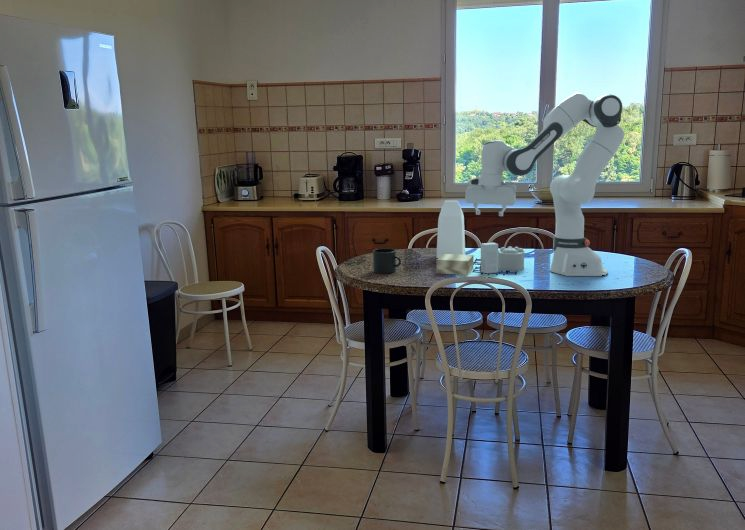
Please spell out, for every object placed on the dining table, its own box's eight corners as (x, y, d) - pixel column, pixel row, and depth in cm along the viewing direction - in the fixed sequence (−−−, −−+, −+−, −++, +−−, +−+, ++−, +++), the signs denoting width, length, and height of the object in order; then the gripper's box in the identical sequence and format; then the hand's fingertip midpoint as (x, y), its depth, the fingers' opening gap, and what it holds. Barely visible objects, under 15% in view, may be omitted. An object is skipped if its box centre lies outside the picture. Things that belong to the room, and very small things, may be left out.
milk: (436, 258, 298) (436, 201, 293) (439, 254, 309) (440, 199, 304) (462, 259, 295) (463, 202, 290) (465, 254, 306) (466, 199, 301)
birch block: (473, 268, 276) (473, 255, 275) (468, 275, 264) (468, 261, 263) (443, 267, 280) (443, 253, 279) (436, 273, 268) (436, 259, 267)
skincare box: (493, 270, 271) (493, 242, 269) (498, 272, 267) (498, 243, 265) (479, 271, 269) (480, 243, 267) (484, 273, 265) (485, 244, 263)
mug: (396, 275, 266) (396, 253, 264) (369, 273, 270) (369, 251, 268) (404, 270, 274) (404, 249, 272) (378, 268, 279) (378, 247, 277)
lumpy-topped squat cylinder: (495, 269, 273) (496, 249, 271) (502, 263, 285) (502, 244, 283) (520, 271, 269) (521, 250, 267) (526, 265, 281) (526, 245, 279)
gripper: (518, 181, 261) (516, 216, 264) (468, 179, 269) (467, 212, 271) (515, 182, 255) (513, 217, 258) (464, 180, 263) (463, 214, 266)
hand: (489, 215), depth 265 cm, fingers open, 8 cm apart
